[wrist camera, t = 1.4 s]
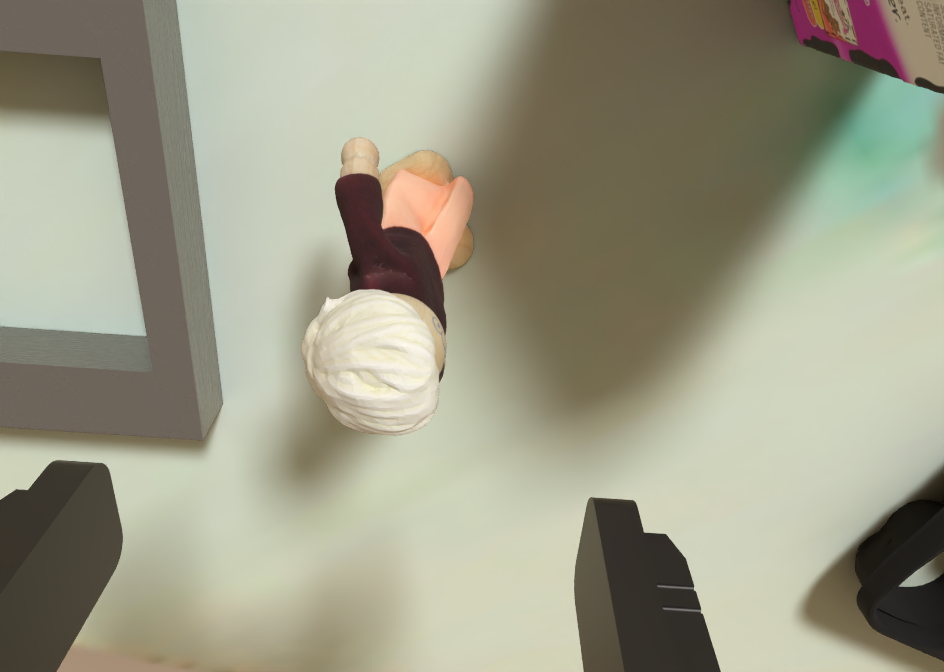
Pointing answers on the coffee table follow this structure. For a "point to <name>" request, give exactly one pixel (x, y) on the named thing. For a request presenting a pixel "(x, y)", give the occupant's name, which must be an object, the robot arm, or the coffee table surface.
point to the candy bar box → (878, 35)
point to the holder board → (151, 231)
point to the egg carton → (904, 577)
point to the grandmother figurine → (390, 291)
